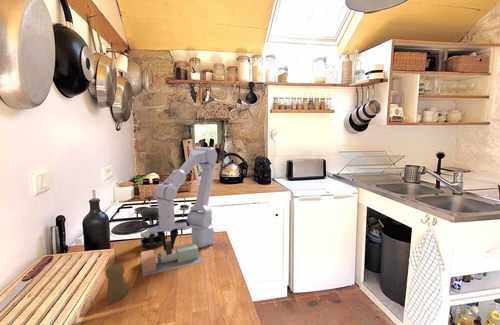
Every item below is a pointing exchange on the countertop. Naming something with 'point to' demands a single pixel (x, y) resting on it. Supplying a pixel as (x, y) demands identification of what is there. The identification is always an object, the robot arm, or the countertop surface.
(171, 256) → the sliding bolt
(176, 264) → the base board
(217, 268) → the countertop surface
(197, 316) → the countertop surface
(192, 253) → the outer sleeve
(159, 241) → the french press
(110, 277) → the olive green pepper mill
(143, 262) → the socket block
